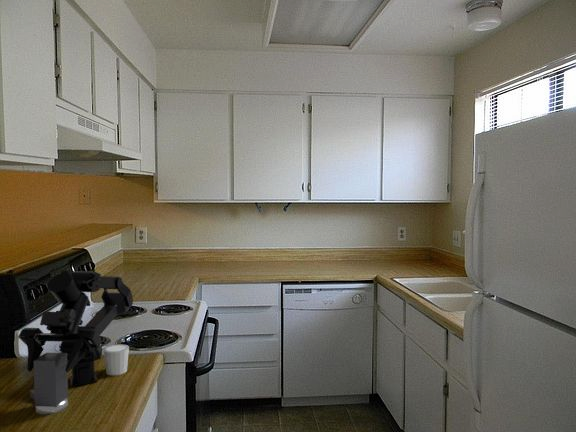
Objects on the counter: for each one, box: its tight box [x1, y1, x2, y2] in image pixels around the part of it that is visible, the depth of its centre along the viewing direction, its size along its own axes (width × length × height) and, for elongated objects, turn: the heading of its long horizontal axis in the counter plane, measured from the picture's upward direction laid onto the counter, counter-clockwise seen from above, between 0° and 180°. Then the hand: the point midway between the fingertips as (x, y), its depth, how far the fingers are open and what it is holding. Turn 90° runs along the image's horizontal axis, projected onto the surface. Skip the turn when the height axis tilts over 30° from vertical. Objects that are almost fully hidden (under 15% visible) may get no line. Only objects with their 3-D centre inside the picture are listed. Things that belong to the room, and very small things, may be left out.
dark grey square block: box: [33, 352, 69, 407], centre depth 105 cm, size 5×5×11 cm
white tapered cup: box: [103, 343, 130, 376], centre depth 127 cm, size 7×7×7 cm
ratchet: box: [29, 389, 69, 415], centre depth 108 cm, size 13×7×4 cm, turn 50°
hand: (47, 371), depth 104 cm, fingers open, 9 cm apart
